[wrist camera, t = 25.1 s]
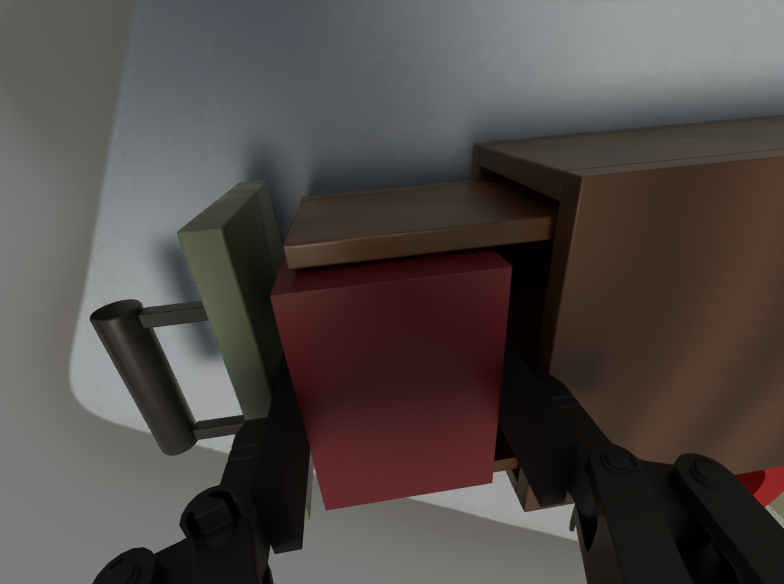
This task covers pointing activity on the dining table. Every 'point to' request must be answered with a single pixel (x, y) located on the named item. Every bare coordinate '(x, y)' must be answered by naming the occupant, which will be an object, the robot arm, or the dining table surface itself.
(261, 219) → the drawer
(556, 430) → the robot arm
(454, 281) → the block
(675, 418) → the cabinet
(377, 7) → the dining table surface
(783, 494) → the gift box
